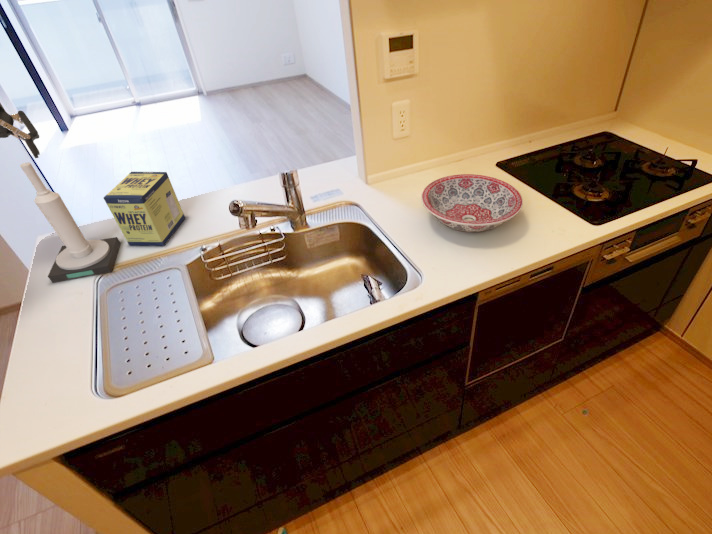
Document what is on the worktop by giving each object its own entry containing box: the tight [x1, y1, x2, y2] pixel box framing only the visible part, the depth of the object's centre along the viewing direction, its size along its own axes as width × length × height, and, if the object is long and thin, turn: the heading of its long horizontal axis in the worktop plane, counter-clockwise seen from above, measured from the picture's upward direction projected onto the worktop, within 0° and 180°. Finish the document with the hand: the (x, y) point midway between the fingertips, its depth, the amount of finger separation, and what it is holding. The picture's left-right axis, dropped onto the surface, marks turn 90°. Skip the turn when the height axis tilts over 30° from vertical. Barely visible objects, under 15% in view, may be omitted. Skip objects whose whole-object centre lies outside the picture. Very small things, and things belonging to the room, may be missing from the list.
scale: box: [47, 236, 121, 284], centre depth 115 cm, size 14×14×3 cm
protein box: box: [103, 171, 186, 247], centre depth 121 cm, size 10×16×16 cm
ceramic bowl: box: [421, 173, 524, 233], centre depth 126 cm, size 29×29×8 cm
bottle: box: [19, 162, 92, 258], centre depth 106 cm, size 5×5×25 cm
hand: (15, 161), depth 100 cm, fingers open, 8 cm apart
